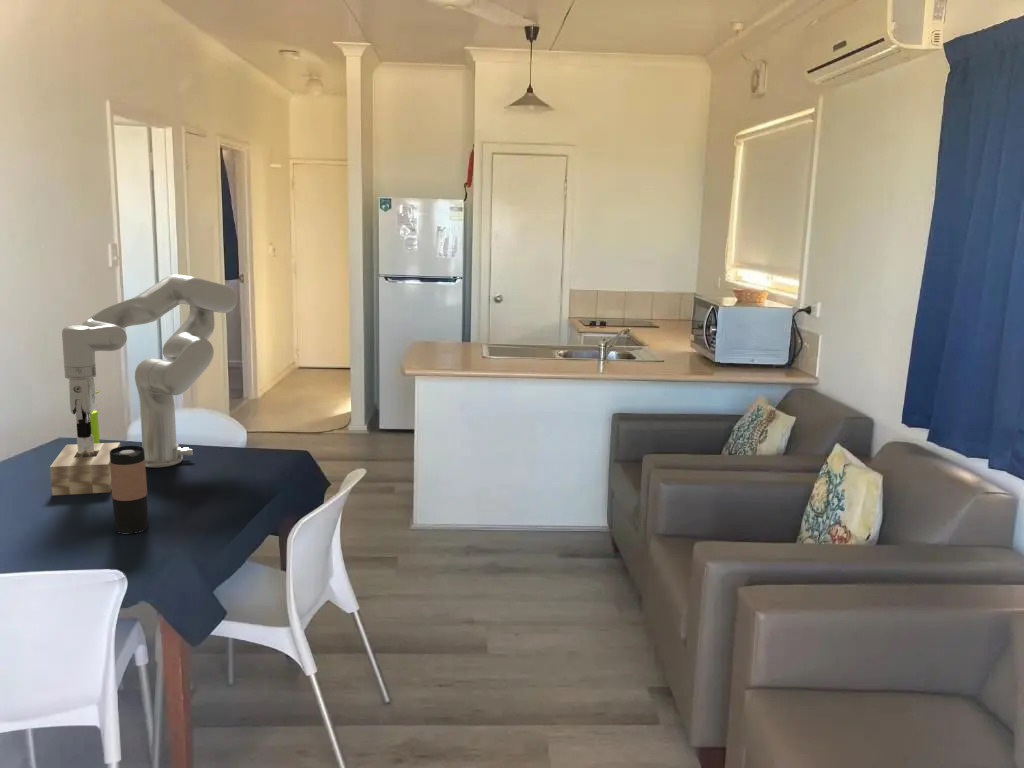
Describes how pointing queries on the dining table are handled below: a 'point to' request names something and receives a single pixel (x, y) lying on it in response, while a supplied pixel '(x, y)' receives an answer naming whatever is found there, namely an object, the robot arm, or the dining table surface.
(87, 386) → the robot arm
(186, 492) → the dining table surface
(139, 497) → the travel mug
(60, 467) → the socket block
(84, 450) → the peg
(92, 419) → the green soap pump bottle
